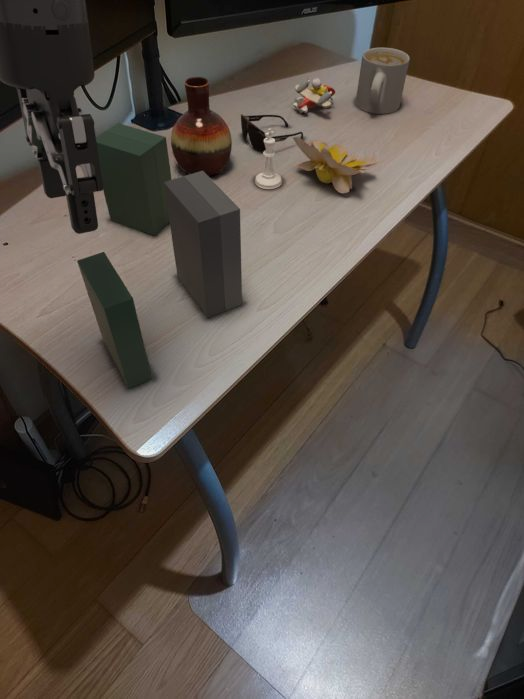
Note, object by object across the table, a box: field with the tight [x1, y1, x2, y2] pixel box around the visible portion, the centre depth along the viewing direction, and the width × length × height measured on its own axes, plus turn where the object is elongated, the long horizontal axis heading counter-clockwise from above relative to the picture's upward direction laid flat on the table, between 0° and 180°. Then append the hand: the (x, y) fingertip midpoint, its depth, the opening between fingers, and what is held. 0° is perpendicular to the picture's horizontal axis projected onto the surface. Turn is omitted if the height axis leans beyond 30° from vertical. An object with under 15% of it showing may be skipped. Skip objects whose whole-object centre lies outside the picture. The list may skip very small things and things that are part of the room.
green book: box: [76, 251, 153, 389], centre depth 62 cm, size 3×9×14 cm, turn 31°
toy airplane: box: [293, 77, 336, 114], centre depth 112 cm, size 9×9×6 cm
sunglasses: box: [240, 113, 304, 153], centre depth 104 cm, size 10×12×5 cm
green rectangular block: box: [96, 122, 173, 237], centre depth 82 cm, size 6×9×14 cm
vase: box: [170, 76, 233, 177], centre depth 93 cm, size 11×11×15 cm
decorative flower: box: [292, 136, 379, 194], centre depth 92 cm, size 15×11×10 cm
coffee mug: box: [355, 47, 411, 115], centre depth 112 cm, size 13×10×10 cm
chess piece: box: [254, 127, 283, 190], centre depth 91 cm, size 5×5×10 cm
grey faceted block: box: [164, 171, 243, 319], centre depth 70 cm, size 6×10×16 cm, turn 31°
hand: (70, 212), depth 50 cm, fingers open, 8 cm apart
